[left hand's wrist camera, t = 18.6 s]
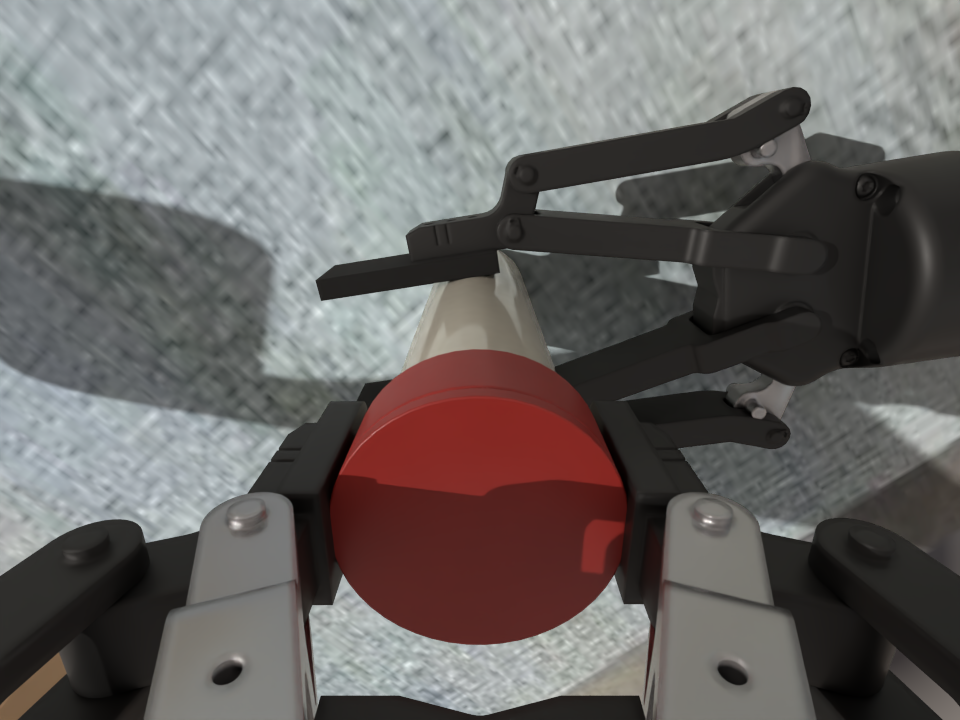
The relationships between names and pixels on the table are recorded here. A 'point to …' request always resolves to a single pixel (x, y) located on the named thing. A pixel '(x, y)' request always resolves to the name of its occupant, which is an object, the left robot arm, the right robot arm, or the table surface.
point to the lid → (478, 501)
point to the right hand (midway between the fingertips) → (346, 346)
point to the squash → (32, 689)
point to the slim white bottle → (480, 318)
